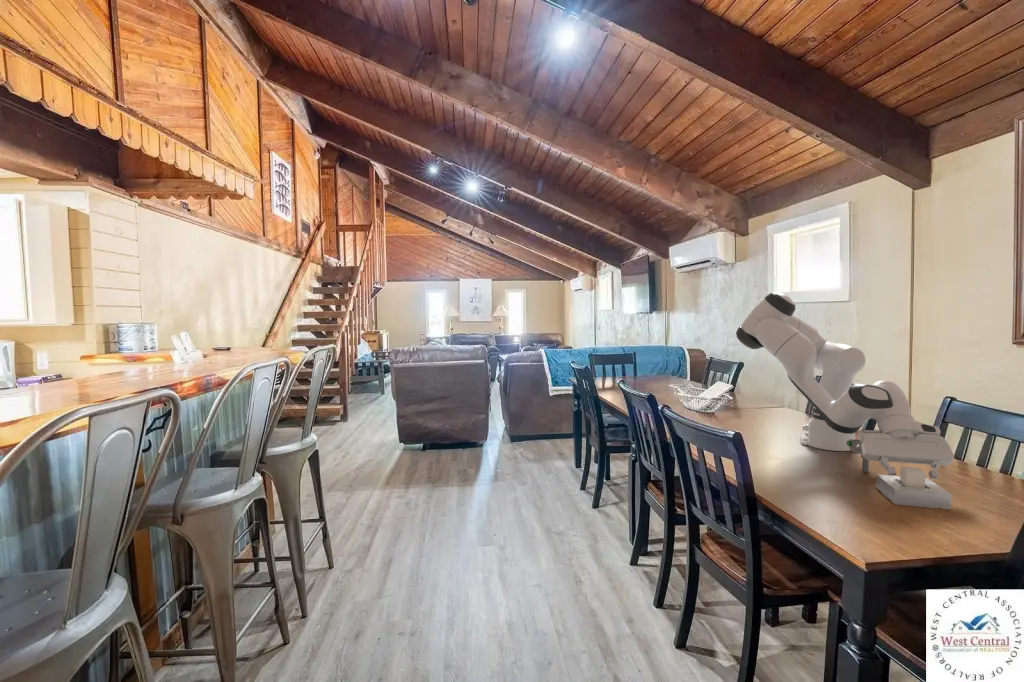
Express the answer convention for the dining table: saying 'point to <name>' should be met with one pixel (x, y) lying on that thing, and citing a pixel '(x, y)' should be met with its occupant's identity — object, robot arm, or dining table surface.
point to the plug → (912, 477)
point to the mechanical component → (854, 448)
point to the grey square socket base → (914, 493)
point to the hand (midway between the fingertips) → (913, 476)
